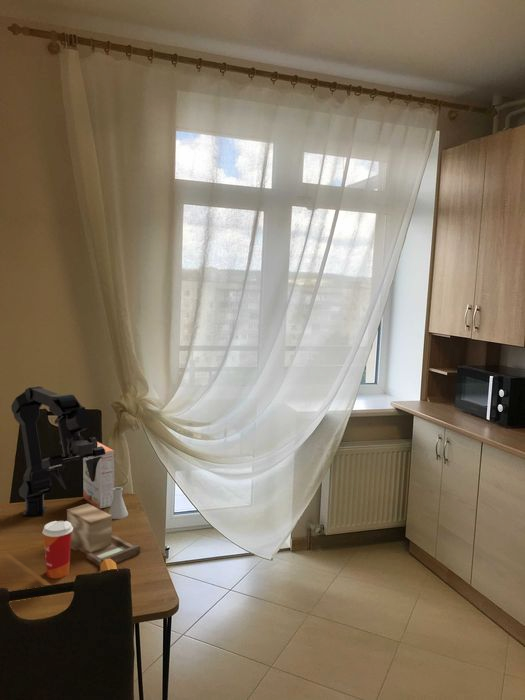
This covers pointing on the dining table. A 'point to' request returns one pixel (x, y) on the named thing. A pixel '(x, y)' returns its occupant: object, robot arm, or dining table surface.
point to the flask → (118, 505)
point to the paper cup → (57, 548)
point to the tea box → (90, 527)
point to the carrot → (108, 565)
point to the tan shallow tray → (110, 551)
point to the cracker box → (100, 480)
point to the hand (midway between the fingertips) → (79, 485)
